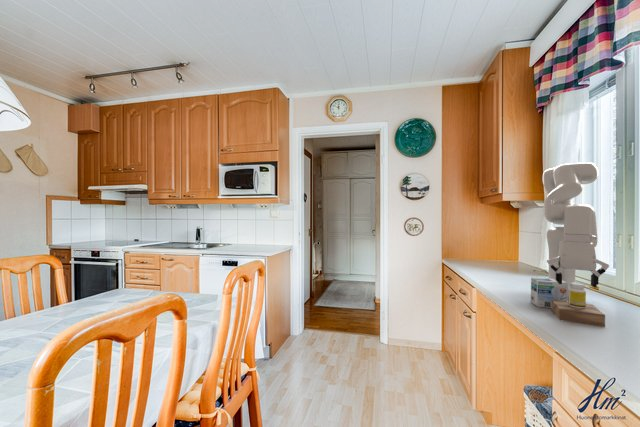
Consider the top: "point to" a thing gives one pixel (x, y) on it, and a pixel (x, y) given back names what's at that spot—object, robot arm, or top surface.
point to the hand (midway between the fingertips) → (576, 284)
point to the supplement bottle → (577, 295)
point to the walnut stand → (578, 313)
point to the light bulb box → (547, 291)
